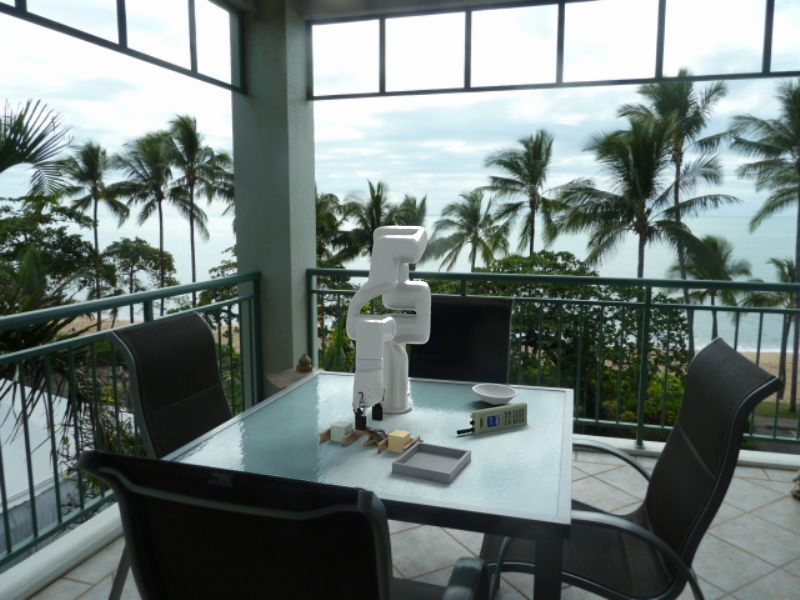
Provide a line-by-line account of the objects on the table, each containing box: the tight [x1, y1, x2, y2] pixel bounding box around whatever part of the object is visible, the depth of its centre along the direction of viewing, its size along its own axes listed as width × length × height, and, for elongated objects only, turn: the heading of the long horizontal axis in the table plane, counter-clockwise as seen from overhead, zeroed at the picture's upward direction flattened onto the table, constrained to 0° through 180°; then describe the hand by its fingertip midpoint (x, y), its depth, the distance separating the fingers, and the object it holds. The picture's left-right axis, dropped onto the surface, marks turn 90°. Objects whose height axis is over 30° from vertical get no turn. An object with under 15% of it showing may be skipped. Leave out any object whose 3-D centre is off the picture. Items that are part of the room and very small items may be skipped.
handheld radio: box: [456, 402, 528, 435], centre depth 177 cm, size 7×3×25 cm
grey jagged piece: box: [363, 425, 387, 447], centre depth 164 cm, size 8×6×7 cm
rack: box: [319, 426, 424, 454], centre depth 165 cm, size 12×26×2 cm, turn 65°
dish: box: [471, 383, 519, 406], centre depth 201 cm, size 18×14×5 cm
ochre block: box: [387, 429, 411, 454], centre depth 160 cm, size 4×4×4 cm
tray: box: [391, 441, 472, 485], centre depth 149 cm, size 16×15×2 cm
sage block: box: [330, 419, 353, 443], centre depth 168 cm, size 4×4×4 cm
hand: (369, 425), depth 163 cm, fingers open, 9 cm apart
